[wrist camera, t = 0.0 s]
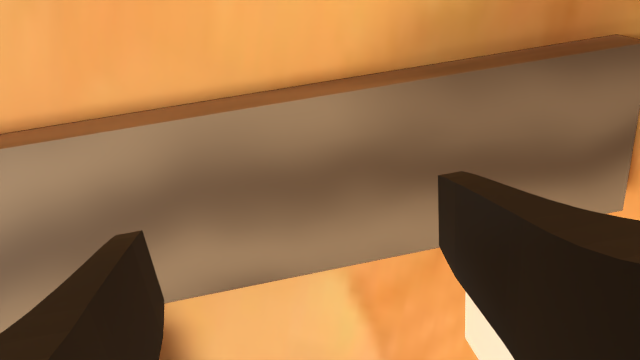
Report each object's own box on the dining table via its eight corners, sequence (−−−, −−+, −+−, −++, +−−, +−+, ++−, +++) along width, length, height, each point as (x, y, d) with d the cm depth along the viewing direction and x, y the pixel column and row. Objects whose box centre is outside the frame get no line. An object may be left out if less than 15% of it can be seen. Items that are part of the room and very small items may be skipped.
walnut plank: (594, 192, 26) (622, 210, 24) (-14, 312, 23) (-34, 343, 21) (616, 34, 22) (650, 41, 21) (-98, 150, 19) (-131, 170, 17)
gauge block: (561, 315, 29) (637, 397, 24) (464, 337, 29) (520, 426, 23) (568, 259, 28) (651, 333, 22) (465, 280, 27) (525, 363, 22)
